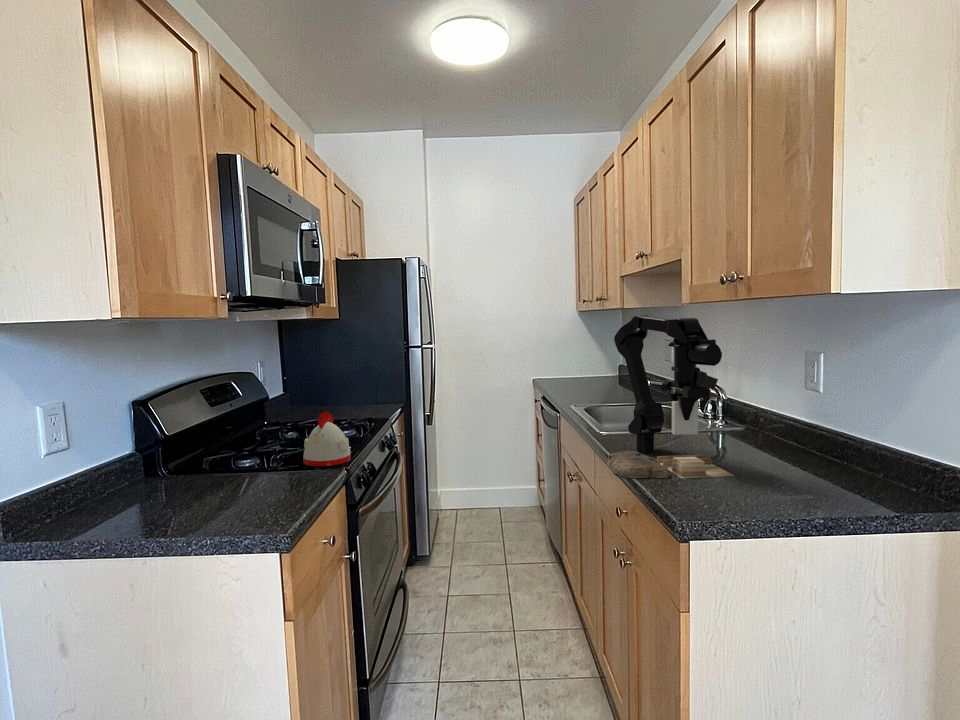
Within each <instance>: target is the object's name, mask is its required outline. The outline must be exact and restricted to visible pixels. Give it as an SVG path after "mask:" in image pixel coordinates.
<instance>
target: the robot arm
mask: <svg viewBox="0 0 960 720" xmlns="http://www.w3.org/2000/svg"><path fill="white" fill-rule="evenodd" d="M648 331H654V332H661V333H665V334H666V335H667V336H668V337H671V338H672V339H673V340H672V341H671V342H670V343H669V344H668V347H673V349H674V350H673V359H674V360H673V366H671V371H673V379H668V380H667V379H665V380H664V381H663V382H662V383H661V390H663V391H666V392H667V391H668V390H669V391H670V390H671V391H670V392H668V395H669V396H670V397H669V398H671V402H672V401H679V405H680V408H681V411H682V414H683V417H684V420H689V418H690V415H691V412H692V409H693V406H694V404H695V402H696V401H697V402H698V401H699V400H700V399H704V398H711V397H712V392H711V391H712V390H713V391H715V390H716V386H717V383H718V380H719V378H715V377H713V376H710V375H708V373H707V372H705V371H702V370H701V368H700V367H697V365H700V366H712V367H713V366H717V365H719V363H720V362H721V361H722V356H723V352H722V351H721V348H720V346H719V345H718V344H716V343H717V340H716V339H709V338H708V335H706V333H705V331H704V329H703V327H702V326H701V323H700V322H699V319H698V318H696V317H677V318H676V317H675V318H663V317H657V316H651V315H648V314H643V315H635V316H633V317H632V318H631V320H630V321H628V322H626V324H624V325H622V326H621V327H620V328H619V329H618V330H617V332H616V334H614V338H613V340H614V344H615V347H616V349H617V352H618V353H619V355H621V356H622V357H623V358H624V360H625V364H626V367H627V371H628V376H629V380H630V385H631V387H632V391H633V395H634V399H635V405H634V408H633V411H632V412H633V419H632V420H631V422H630V423H629V424H628V425H627V428H628V432H629V433H630V434H633V435H635V445H634V446H635V450H634V451H637V452H639V453H643V454H654V453H655V451H656V449H655V448H656V447H655V446H656V444H655V443H656V442H655V441H656V438H655V437H656V434H661V433H662V431H663V427H664V423H665V416H666V415H665V412H664V409H663V405H662V403H661V402H656V400H654V398H653V396H652V392H651V387H650V384H649V380H648V377H647V372H646V368H645V365H644V361H643V358H642V352H643V350H644V346H645V345H644V340H645V339H646V338H647V336H648Z"/></svg>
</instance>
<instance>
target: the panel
mask: <svg viewBox="0 0 960 720" xmlns="http://www.w3.org/2000/svg"><path fill="white" fill-rule="evenodd" d="M671 434H673V435H676V436H679V435H699V401H698V400H697V401H696V402H695V404H694V406H693V409H692V412H691V415H690V418H689V420H684V417H683V414H682V411H681V408H680V405H679V401H672V400H671Z"/></svg>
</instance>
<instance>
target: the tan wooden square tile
mask: <svg viewBox="0 0 960 720" xmlns="http://www.w3.org/2000/svg"><path fill="white" fill-rule="evenodd" d="M672 471H673V472H675V473H676V474H678V475H679V476H681V477H691V476H706V471H695V472H681V471H679V470H677V469H676V468H674V467H673V466H672ZM673 472H672V473H673ZM676 474H675V475H676ZM679 476H678V477H679ZM681 477H680V478H681Z"/></svg>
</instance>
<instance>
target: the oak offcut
mask: <svg viewBox="0 0 960 720" xmlns="http://www.w3.org/2000/svg"><path fill="white" fill-rule="evenodd" d="M672 466H673V467H674V468H676V469H677V470H679V471H681V472H695V471H705V466H699V467H680V466H679V465H677V464H675V463H674V462H672Z"/></svg>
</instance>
